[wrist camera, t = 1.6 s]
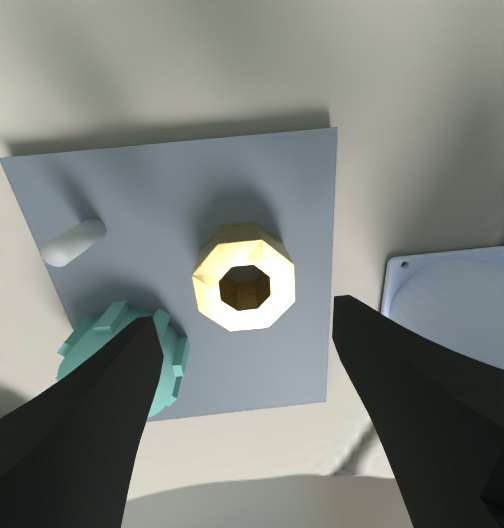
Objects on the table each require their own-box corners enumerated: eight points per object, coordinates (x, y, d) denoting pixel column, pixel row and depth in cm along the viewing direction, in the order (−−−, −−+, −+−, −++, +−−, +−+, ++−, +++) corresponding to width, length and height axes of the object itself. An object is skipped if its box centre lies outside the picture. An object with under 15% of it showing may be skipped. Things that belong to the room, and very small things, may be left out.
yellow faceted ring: (282, 218, 16) (293, 236, 13) (285, 294, 18) (295, 324, 15) (195, 227, 16) (186, 247, 13) (208, 301, 18) (203, 333, 15)
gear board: (331, 127, 15) (371, 122, 10) (322, 391, 23) (343, 449, 19) (9, 157, 14) (-88, 164, 10) (117, 414, 23) (90, 479, 18)
